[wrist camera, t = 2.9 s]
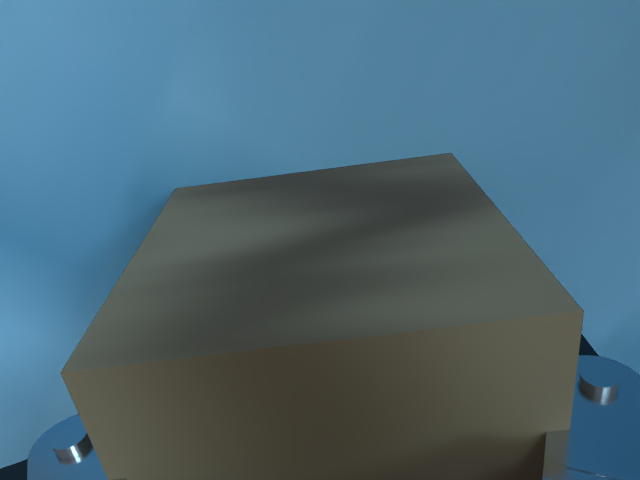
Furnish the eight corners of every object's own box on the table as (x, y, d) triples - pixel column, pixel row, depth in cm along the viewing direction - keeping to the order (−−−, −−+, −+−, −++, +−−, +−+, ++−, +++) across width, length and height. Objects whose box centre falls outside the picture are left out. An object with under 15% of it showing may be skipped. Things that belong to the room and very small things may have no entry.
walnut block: (450, 152, 11) (583, 310, 6) (454, 370, 14) (548, 617, 9) (176, 188, 11) (59, 373, 6) (231, 396, 14) (185, 653, 9)
